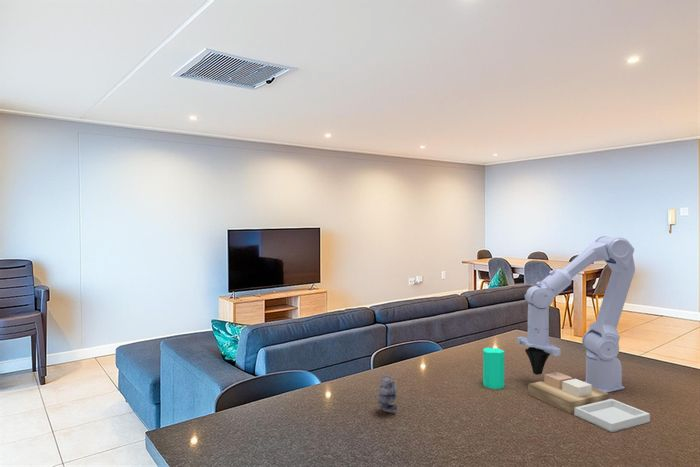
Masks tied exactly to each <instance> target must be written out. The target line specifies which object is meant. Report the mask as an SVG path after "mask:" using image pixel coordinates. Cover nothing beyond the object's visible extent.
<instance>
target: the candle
mask: <svg viewBox="0 0 700 467" xmlns="http://www.w3.org/2000/svg"><path fill="white" fill-rule="evenodd" d="M482 351H483V352H482V354H483V355H482V356H483V359H482V361H483V363H482V367H483V368H482V385H483V387H485V388H488V389H493V390H501V389H504V387H505V350H503V349H501V348H499V347H496V348H495V347H493V348H492V347H486V348H485V347H484V348H483V349H482Z"/></svg>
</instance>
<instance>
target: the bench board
mask: <svg viewBox="0 0 700 467" xmlns="http://www.w3.org/2000/svg"><path fill="white" fill-rule="evenodd" d="M527 386H528V389H527V391H528V394H527V395H528V396H531V397H534V398H535V399H538V400H540V401H542V402H544V403H546V404H548V405H550V406H553V407H555V408H557V409H559V410H562V411H564V412H565V413H568V414H569V415H572V414H575V407H579V406H583V405H587V404H592V403H596V402H600V401H604V400H608V399H610V398H609V395H610V394H609V393H610V392H607V393H606V392H603V391H601V390H598V389H596V388H593V387H592V394H590V395H586V396H581V397H576V396H574V395H572V394H569V393H567V392H565V391H562V389H557V388H555V387H553V386H550V385H548V384H545V380H542V381H536V382H530V383H528V384H527Z"/></svg>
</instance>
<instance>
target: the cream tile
mask: <svg viewBox="0 0 700 467" xmlns="http://www.w3.org/2000/svg"><path fill="white" fill-rule="evenodd" d="M562 391H565V392H567V393H569V394H572V395H574V396H576V397H581V396H586V395H590V394H592V385H591V384H588V383H586V382H584V381H583V380H580V379H577V378H572V380H567V381H562Z"/></svg>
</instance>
